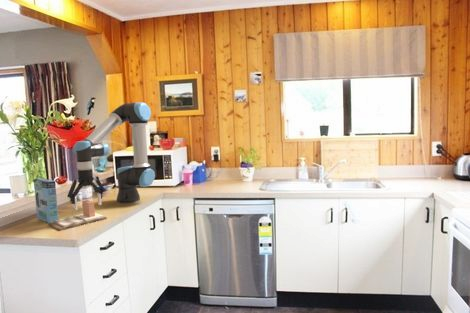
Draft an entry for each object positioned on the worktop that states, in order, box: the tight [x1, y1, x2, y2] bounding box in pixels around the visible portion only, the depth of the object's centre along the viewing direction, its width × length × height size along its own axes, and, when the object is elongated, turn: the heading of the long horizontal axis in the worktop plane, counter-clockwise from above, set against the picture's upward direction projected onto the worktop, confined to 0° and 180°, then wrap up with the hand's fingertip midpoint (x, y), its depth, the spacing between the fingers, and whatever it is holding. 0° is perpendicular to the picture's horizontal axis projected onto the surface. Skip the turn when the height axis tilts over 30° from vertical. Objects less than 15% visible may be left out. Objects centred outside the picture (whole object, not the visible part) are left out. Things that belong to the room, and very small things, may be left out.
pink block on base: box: [74, 199, 105, 222], centre depth 203 cm, size 10×14×9 cm
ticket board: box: [47, 215, 108, 232], centre depth 198 cm, size 25×16×2 cm, turn 137°
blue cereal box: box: [33, 177, 59, 224], centre depth 205 cm, size 19×5×23 cm, turn 47°
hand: (88, 207), depth 202 cm, fingers open, 13 cm apart
